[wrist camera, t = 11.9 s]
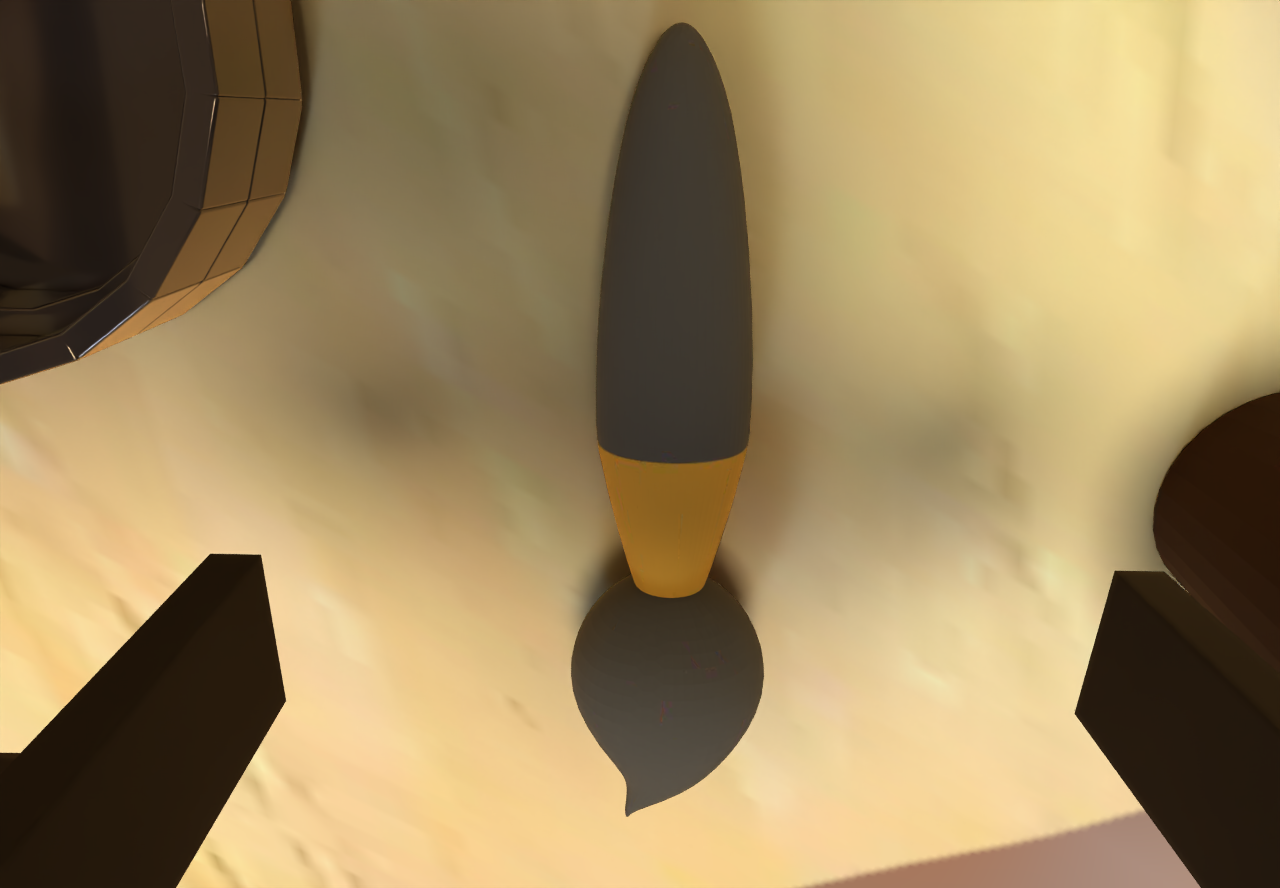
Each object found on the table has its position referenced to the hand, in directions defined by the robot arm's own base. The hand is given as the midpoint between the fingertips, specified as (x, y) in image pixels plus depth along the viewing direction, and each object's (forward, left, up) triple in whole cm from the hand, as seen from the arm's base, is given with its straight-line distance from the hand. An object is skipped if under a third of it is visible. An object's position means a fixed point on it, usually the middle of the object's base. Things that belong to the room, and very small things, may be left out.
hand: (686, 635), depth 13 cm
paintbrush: (+1, 0, -10) cm, 10 cm away
